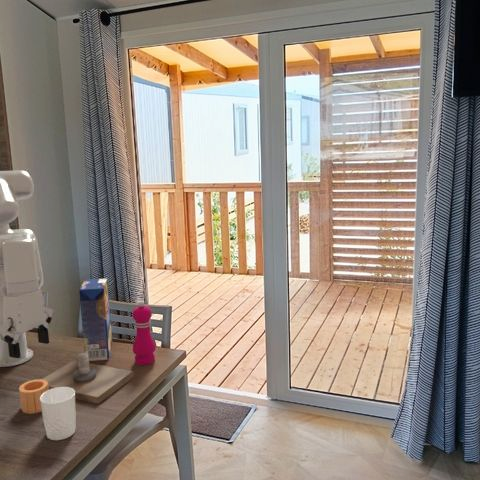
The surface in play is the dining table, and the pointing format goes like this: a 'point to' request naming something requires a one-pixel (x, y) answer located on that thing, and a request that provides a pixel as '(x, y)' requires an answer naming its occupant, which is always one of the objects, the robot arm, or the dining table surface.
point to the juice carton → (96, 318)
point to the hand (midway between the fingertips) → (30, 349)
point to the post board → (93, 386)
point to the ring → (32, 395)
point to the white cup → (59, 412)
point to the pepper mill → (143, 336)
